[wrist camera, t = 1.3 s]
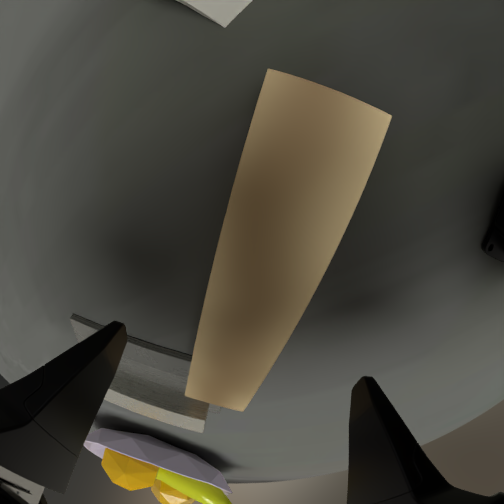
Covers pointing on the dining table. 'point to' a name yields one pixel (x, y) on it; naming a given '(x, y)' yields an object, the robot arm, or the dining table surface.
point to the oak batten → (280, 229)
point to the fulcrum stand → (152, 381)
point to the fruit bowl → (157, 468)
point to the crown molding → (217, 9)
